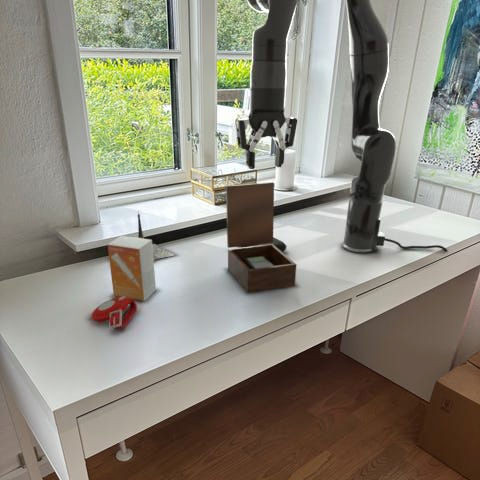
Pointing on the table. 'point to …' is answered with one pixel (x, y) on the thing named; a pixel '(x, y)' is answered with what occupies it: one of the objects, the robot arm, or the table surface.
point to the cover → (250, 214)
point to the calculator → (257, 262)
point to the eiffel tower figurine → (157, 250)
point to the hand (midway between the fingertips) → (264, 167)
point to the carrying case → (276, 242)
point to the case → (266, 276)
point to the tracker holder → (115, 312)
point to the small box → (132, 267)
